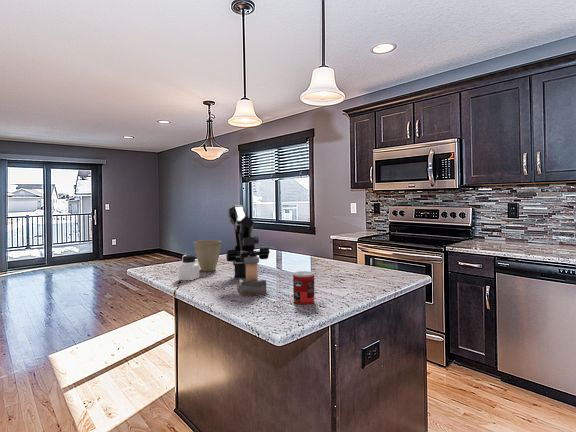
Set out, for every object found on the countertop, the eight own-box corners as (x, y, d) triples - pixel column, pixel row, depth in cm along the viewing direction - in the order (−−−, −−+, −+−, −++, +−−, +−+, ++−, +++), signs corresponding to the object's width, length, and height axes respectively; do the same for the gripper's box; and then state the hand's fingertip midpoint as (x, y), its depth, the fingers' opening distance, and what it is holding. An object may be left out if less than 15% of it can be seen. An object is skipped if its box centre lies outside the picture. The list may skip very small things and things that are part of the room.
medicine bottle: (199, 277, 180) (198, 254, 179) (191, 281, 173) (190, 256, 172) (187, 277, 182) (186, 253, 181) (178, 280, 175) (178, 255, 175)
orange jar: (243, 286, 154) (242, 257, 154) (258, 285, 156) (257, 256, 155) (245, 290, 148) (245, 259, 147) (260, 288, 150) (260, 258, 149)
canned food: (292, 299, 140) (292, 271, 139) (312, 298, 141) (312, 270, 140) (294, 305, 132) (294, 275, 132) (316, 304, 133) (315, 275, 132)
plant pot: (227, 268, 203) (226, 240, 202) (211, 273, 189) (210, 243, 189) (205, 266, 209) (204, 239, 208) (188, 271, 196) (187, 242, 195)
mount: (237, 287, 159) (237, 275, 159) (259, 285, 162) (259, 273, 162) (242, 296, 145) (242, 282, 145) (266, 293, 148) (266, 280, 148)
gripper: (226, 231, 156) (229, 260, 146) (268, 229, 161) (274, 257, 151) (225, 246, 164) (228, 275, 154) (264, 244, 169) (270, 272, 159)
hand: (250, 269), depth 154 cm, fingers closed, pressing on orange jar
